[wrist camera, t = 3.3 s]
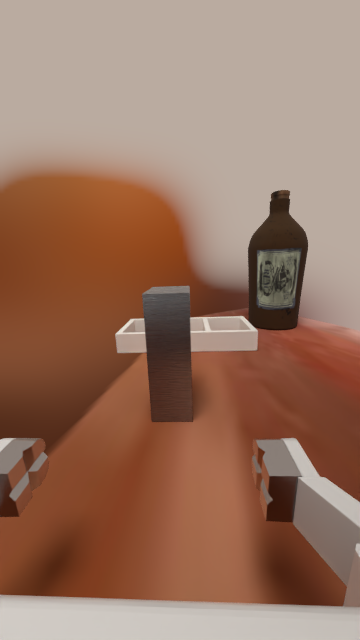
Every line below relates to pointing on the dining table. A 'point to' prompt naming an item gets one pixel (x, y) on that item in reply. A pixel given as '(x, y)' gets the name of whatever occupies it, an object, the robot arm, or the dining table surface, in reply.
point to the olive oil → (276, 267)
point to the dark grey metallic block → (169, 352)
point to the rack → (196, 335)
